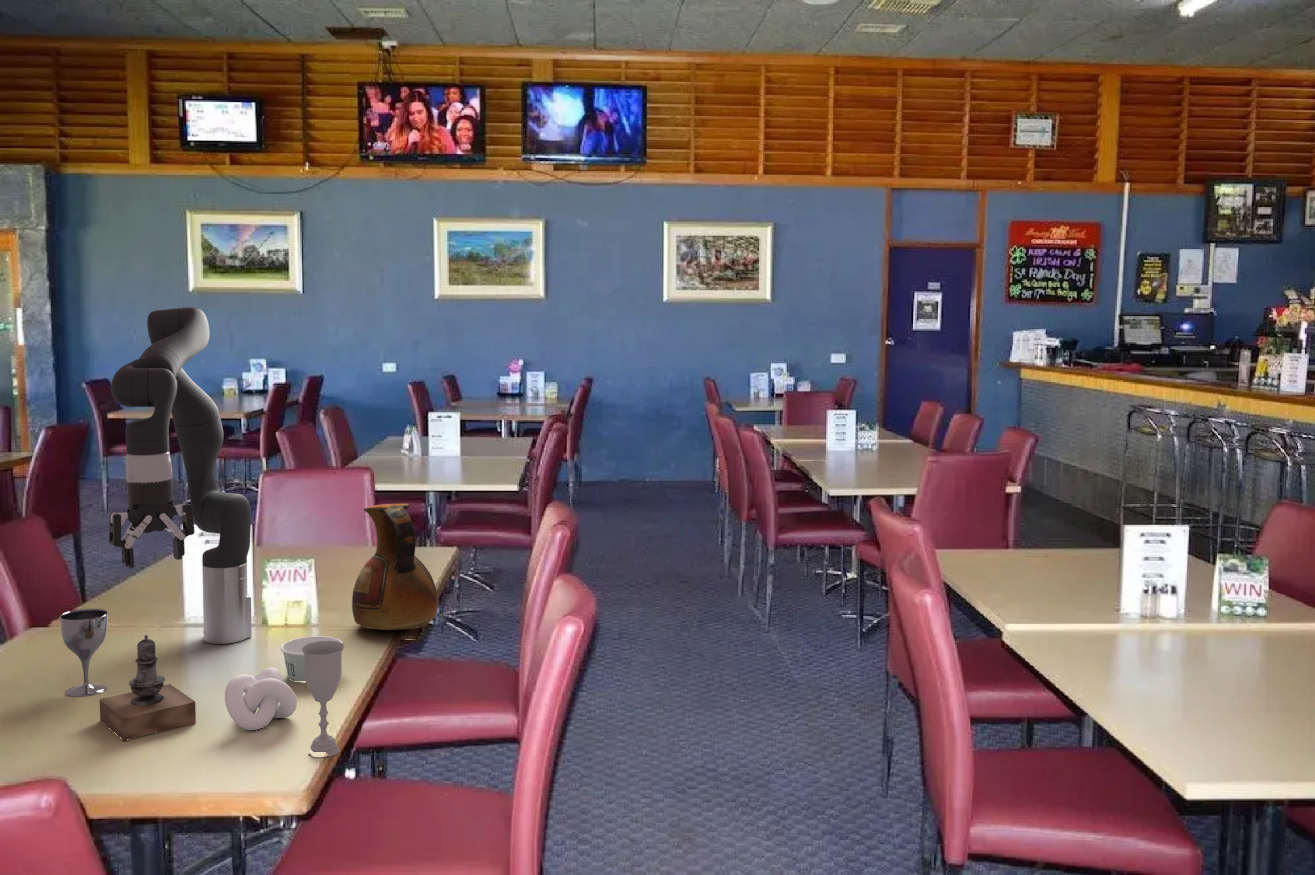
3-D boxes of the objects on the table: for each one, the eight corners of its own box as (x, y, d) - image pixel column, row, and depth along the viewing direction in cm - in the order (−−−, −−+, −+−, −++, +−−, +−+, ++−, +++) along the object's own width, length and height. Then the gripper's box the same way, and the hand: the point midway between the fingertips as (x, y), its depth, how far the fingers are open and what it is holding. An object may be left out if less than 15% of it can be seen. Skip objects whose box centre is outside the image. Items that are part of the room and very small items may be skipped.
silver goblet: (61, 700, 190) (58, 622, 189) (63, 686, 198) (61, 611, 196) (109, 694, 194) (107, 617, 193) (110, 680, 201) (108, 606, 200)
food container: (354, 676, 208) (354, 645, 207) (298, 690, 199) (298, 658, 198) (324, 662, 216) (324, 632, 215) (269, 675, 207) (269, 644, 206)
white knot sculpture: (250, 742, 174) (250, 691, 173) (207, 726, 180) (206, 677, 180) (305, 721, 184) (304, 673, 183) (262, 707, 190) (261, 660, 189)
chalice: (308, 743, 174) (307, 640, 172) (349, 742, 175) (348, 640, 173) (297, 761, 167) (296, 654, 165) (339, 760, 168) (339, 654, 166)
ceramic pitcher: (411, 611, 255) (411, 493, 252) (453, 630, 240) (454, 505, 237) (337, 625, 242) (336, 501, 239) (377, 646, 227) (377, 514, 224)
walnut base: (170, 704, 190) (169, 684, 189) (195, 723, 181) (195, 701, 181) (100, 721, 181) (99, 699, 181) (123, 741, 173) (122, 718, 172)
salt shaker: (151, 707, 178) (149, 641, 176) (121, 704, 179) (119, 638, 177) (173, 696, 183) (171, 631, 182) (143, 692, 184) (142, 628, 183)
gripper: (180, 469, 194) (184, 552, 196) (100, 478, 184) (105, 566, 186) (197, 475, 189) (201, 560, 191) (115, 484, 178) (120, 574, 181)
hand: (154, 563), depth 188 cm, fingers open, 8 cm apart
